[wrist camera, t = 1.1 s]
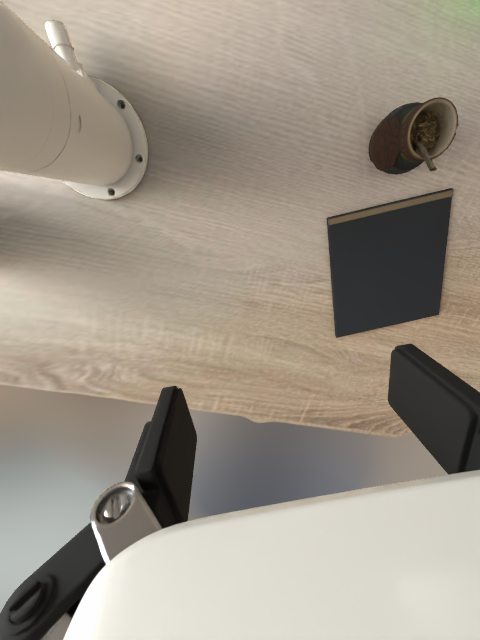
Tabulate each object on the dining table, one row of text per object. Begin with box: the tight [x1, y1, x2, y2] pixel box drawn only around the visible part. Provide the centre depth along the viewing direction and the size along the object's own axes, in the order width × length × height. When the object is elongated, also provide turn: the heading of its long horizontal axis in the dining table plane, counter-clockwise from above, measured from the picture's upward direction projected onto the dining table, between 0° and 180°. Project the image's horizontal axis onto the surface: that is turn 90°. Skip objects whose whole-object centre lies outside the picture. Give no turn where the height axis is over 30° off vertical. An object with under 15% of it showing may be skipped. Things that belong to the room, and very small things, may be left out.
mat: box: [327, 189, 453, 338], centre depth 41 cm, size 20×18×1 cm
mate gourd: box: [369, 97, 459, 174], centre depth 30 cm, size 7×8×10 cm
